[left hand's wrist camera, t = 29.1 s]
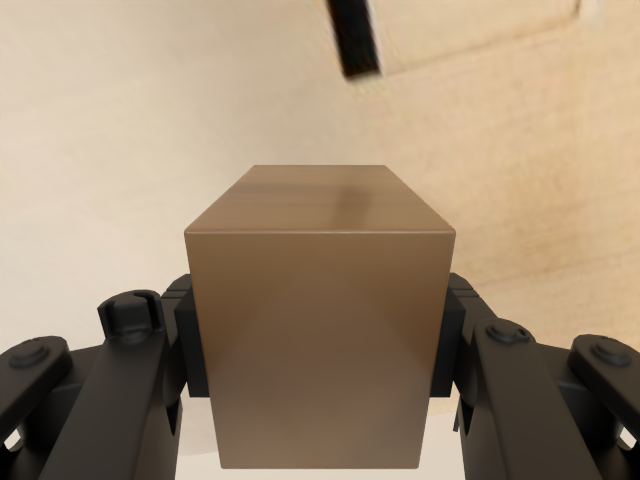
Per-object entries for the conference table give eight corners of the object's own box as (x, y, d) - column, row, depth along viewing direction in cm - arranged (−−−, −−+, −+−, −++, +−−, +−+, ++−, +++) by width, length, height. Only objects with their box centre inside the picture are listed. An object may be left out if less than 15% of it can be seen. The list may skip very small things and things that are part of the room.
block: (375, 310, 16) (419, 471, 9) (263, 310, 16) (220, 470, 9) (386, 164, 14) (458, 229, 7) (253, 164, 14) (181, 229, 7)
